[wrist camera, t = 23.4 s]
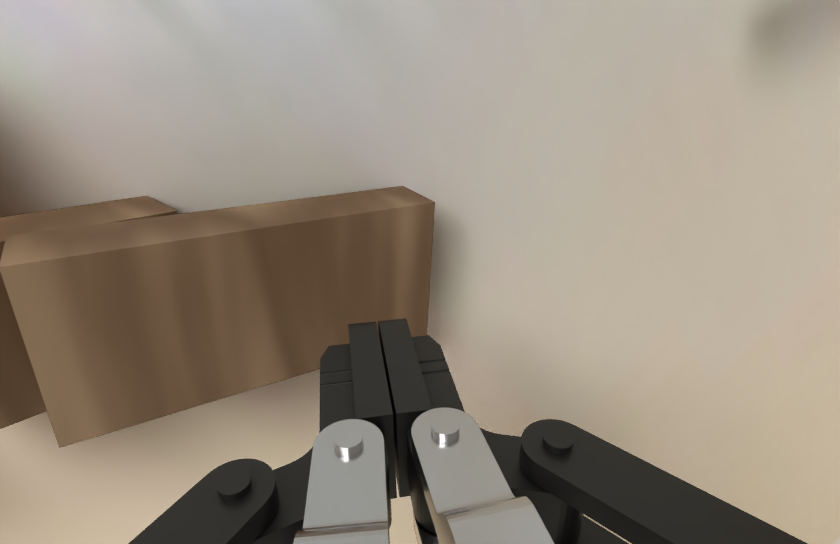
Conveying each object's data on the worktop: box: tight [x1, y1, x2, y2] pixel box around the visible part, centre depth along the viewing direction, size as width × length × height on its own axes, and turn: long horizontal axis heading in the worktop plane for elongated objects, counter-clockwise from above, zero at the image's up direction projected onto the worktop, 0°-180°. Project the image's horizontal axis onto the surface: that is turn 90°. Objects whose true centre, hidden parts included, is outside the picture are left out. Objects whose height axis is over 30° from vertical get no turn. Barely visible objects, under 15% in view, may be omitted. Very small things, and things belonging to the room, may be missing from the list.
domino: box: [0, 186, 435, 448], centre depth 15 cm, size 2×5×11 cm
